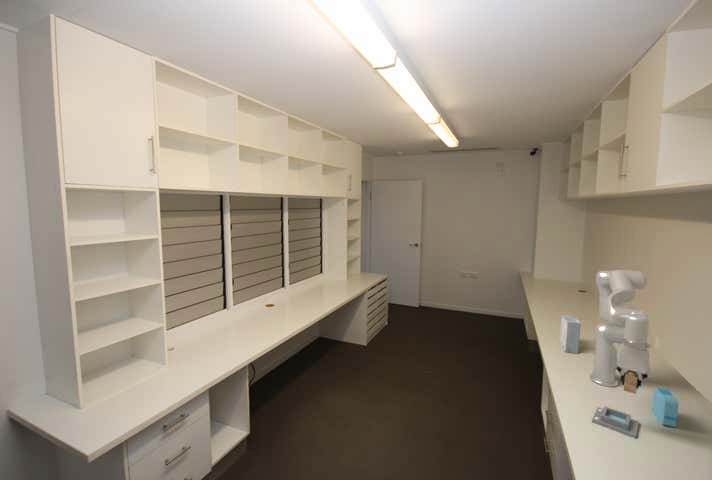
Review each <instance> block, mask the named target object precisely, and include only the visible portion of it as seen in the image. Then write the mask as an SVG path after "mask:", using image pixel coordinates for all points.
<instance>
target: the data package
mask: <svg viewBox="0 0 712 480" xmlns="http://www.w3.org/2000/svg"><path fill="white" fill-rule="evenodd" d="M652 398H653V399H652V400H653V401H652V407H651V409H652V413H653V414H654V416H655V417H656V418H657V420H658V421H659V423H660V424H661V425H662V426H668V427H672V428H676V427H677V421H678V412H679V401H678V399H676V397H675V395H673V394H672V392H671V391H670V390H669V389H667V388H661V387H654V391H653V397H652Z"/></svg>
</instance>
